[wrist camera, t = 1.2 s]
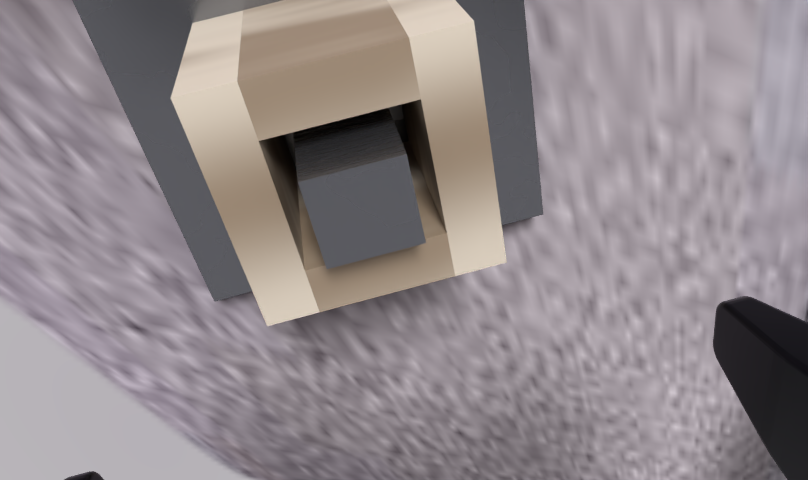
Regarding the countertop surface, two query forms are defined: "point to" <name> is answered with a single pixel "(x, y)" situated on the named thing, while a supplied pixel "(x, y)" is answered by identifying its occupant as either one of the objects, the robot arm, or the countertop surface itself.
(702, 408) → the countertop surface
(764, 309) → the robot arm
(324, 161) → the metal post stand
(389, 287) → the ash wood collar block
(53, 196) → the countertop surface
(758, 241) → the countertop surface
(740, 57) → the countertop surface
